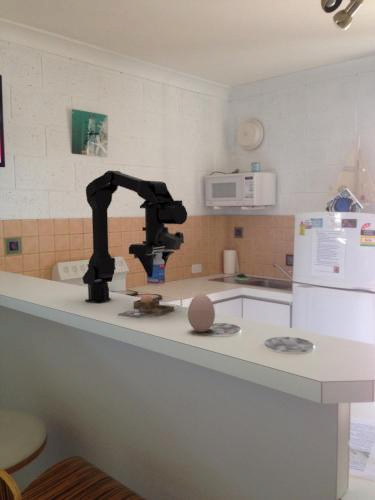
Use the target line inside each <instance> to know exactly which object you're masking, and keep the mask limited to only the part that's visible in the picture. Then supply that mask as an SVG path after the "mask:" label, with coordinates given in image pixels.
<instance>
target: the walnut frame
mask: <svg viewBox="0 0 375 500" xmlns="http://www.w3.org/2000/svg"><path fill="white" fill-rule="evenodd" d="M152 299H153V302H150V303H144V302H140V299H137V300H134V301H133V309H135V310H139V309H140V308H143V307H146V306H148V310H155V304H157V305H160V299H154V298H152Z"/></svg>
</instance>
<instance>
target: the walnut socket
mask: <svg viewBox="0 0 375 500" xmlns="http://www.w3.org/2000/svg"><path fill="white" fill-rule="evenodd" d="M155 309H157V310H155ZM155 309H151V310H148V306H146V307H143V308H140V309H138V312H143V313H147V314H146V315H153V316H159V317H160V316H163V315H165V314H168V313H170V312H171V313H172V312H174V311H175V306H172V305H162V304H159V305H157V304H155Z"/></svg>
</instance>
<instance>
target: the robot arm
mask: <svg viewBox="0 0 375 500" xmlns="http://www.w3.org/2000/svg"><path fill="white" fill-rule="evenodd" d="M119 187H121V188H124V189H126V190H129V191H132V192H134V193H136V195H138V197H140V198H141V199H143V200H144V201H143V203H141V204H140V205H139V208H140V209H144V214H145V215H144V222H145V223H144V225H145V226H143V227H142V231H143V232H145V240H143V241H142V243H132V244H130V245H129V247H128V254H129V255H135V257H137V258H138V260H139V262H140V264H141V265H142V268H143V269H144V271H145V273H146V276H147V275H148V277H152V272H153V259H154V258H155V257H156V255H157V254H153V252H155V251H159V252H162V257H161V258H162V259H163V260H164V263H165V267H166V266H167V262H168V260H169V258H170V256H171V255H173V254H174V253H175V251H180V250H181V245H182V244H184V243H185V241H184V240H185V239H184V233H183V232H180V231H177V232H175V233H171V232H169V228H168V226H165V225H184V224H185V222H186V221H187V218H188V211H187V209H186V207H185V206H184V204H183V200H182V199H181V200H177V199H176V200H174V198H173V196H172V194H171V192H170V191H169V190H168V186H167V183H165V182H164V181H157V180H144V179H141V178H138V177H134V176H133V175H129V174H126V173H124V172H121V171H119V170H108V171H105V172H104V173H103V174H102V175H100V176H99V177H96V178H94V179H93V180H92V181H91V182H89V183H88V184H87V185H86V187H85V197H86V201H87V203H88V205H89V207H90V209H91V214H92V216H91V217H92V218H91V219H92V221H91V222H92V248H93V249H92V254H91V256H90V259H89V261H88V268H87V270H86V272H85V273H84V274H83V276H82V281H83V284H84V285H87V291H88V292H87V293H88V294H87V295H88V298H87V299H85V300H84V301H85V302H89V303H90V302H91V303H98V304H100V303H103V302H108V301H111V300H112V297H110V287H109V283H110V282H113V277H114V274H115V270H116V258H115V257H112V256H111V254H110V252H109V224H108V223H109V222H108V209H109V207H110V205H111V203H112V201H113V194H114V193H115V192H116V191H118V188H119Z"/></svg>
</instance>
